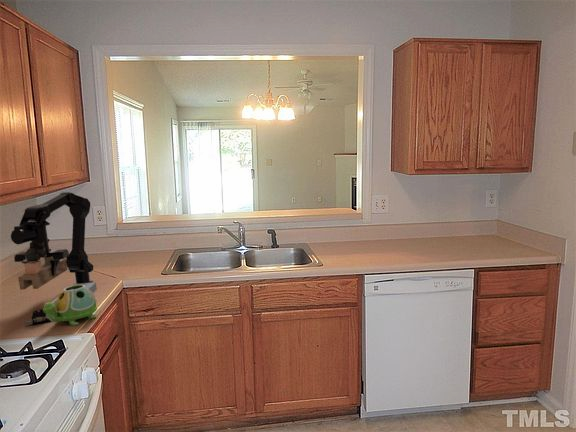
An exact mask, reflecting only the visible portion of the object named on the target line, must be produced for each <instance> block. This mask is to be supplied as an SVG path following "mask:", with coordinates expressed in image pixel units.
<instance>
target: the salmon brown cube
mask: <svg viewBox="0 0 576 432" xmlns="http://www.w3.org/2000/svg"><path fill="white" fill-rule="evenodd" d="M41 262H42V261H41V260H39V261H30V262H28V263H26V264H24V263H23V265H24V267H23V268H24V273H26V274H37V273H39V272H41V271H42V268H41V264H42V263H41Z"/></svg>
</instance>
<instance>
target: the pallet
mask: <svg viewBox="0 0 576 432" xmlns="http://www.w3.org/2000/svg"><path fill="white" fill-rule="evenodd" d="M41 268H42V271H41V272H39V273H37V274H26V273H25V272H24V273H23V274H21V275H19V276H17V277H18V284H19V290H20V291H21V290H22V291H24V290H26V289H28V288H29V287H31V286H32V289H33V290H37V289H39V288H41V287H42V286H44V285H45V284H47V283H49V282H50V281H52V280H54V279H55V278H57V277H58V276H60V275H61V274H63V273H64V272H66V271H68V267H67V263H66V258H64V259H60V261H59V263H58V266H57V269H56V273H55V275H54V276H53V275H52V269H51V264H45V262H43V263H41Z"/></svg>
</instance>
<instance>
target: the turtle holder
mask: <svg viewBox="0 0 576 432" xmlns="http://www.w3.org/2000/svg"><path fill="white" fill-rule="evenodd" d="M73 285H74V284H73ZM70 289H74V290H70ZM57 297H58V296H57ZM42 309H43V312H44V313H46V318H48V319H49V320H51V321H52V322H51V323H60V322H68V323H69V324H70V325H71V326H78V325H79V324H80V323H79V322H78V321H76V320H80V319H83V318H86V317H88V318H87V319H89V320H91V319H92V320H93V319H96V318H97V315H96V314H94V313H95V312H96V311H97V310H98V306H97V299H96V295H94V292H93V293H92V292H91V290H89V289H88V288H86V287H85V285H81V284H79V285H74V286H72V285H71V286H67V287H65V288H63V289H62V291H61V292H60V294H59V297H58V299H57V303H56V306H55V305H54V304H53V303H52V301H50V302H46V303H45V304H44V305H43V308H42ZM55 310H56V312H55Z"/></svg>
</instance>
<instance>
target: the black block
mask: <svg viewBox="0 0 576 432" xmlns="http://www.w3.org/2000/svg"><path fill="white" fill-rule="evenodd" d="M30 319H31V320H30V321H29V320H27V321H25V322H24V326H23V328H28V327H29V328H30V327H34V326H39V325H44V324H50V323H53V322H52V321H51V320H49V319H48V317H47V314H46V313H44V312H43V308H42V309H39V310H38V309H36V310H32V314H31V317H30Z"/></svg>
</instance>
